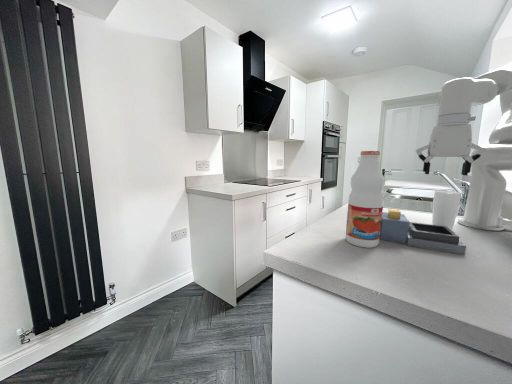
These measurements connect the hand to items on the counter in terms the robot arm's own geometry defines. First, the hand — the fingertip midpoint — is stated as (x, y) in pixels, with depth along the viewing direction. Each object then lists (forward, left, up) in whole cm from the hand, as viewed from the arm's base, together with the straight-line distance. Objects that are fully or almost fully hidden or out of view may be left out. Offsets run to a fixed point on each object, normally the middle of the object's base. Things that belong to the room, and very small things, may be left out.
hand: (444, 174), depth 71 cm
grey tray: (+9, +11, -21) cm, 25 cm away
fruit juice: (+23, +21, -21) cm, 38 cm away
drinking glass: (-2, -1, -21) cm, 21 cm away
